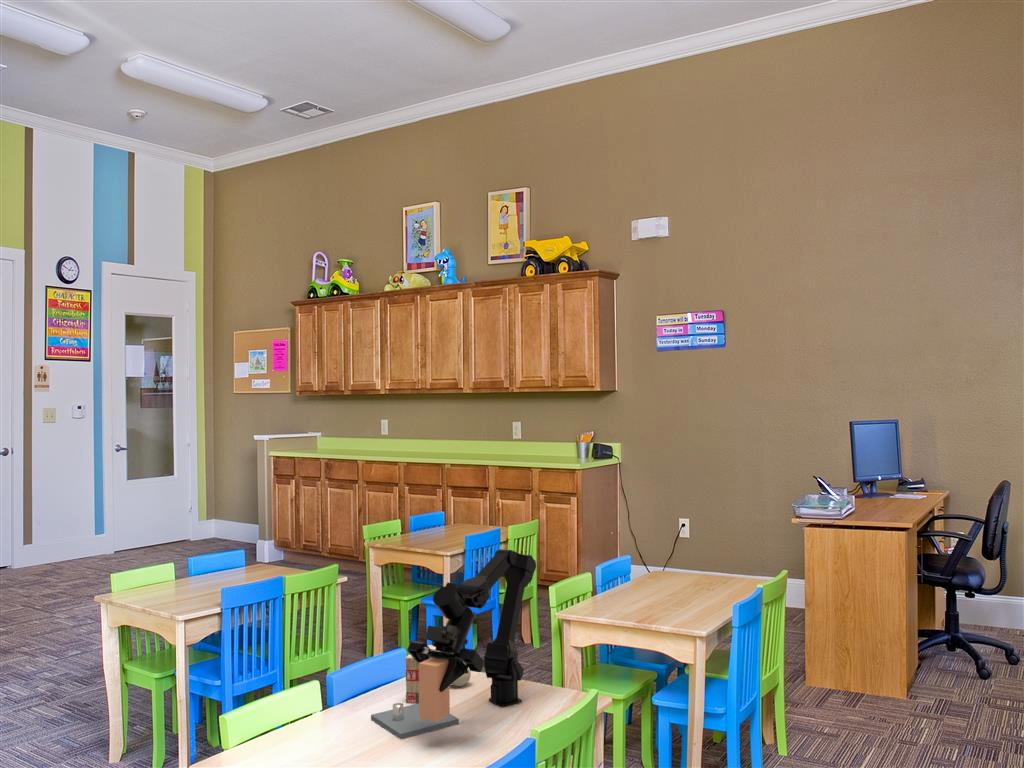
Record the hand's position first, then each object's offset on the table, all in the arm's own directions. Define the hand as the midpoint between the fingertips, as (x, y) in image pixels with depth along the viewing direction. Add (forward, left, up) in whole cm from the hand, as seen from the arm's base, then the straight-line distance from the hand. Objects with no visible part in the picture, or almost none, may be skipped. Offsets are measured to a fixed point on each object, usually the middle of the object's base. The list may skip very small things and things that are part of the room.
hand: (430, 689), depth 191 cm
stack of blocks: (-19, -35, -13) cm, 41 cm away
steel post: (0, -17, -13) cm, 21 cm away
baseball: (-27, -33, -13) cm, 45 cm away
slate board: (-4, -16, -13) cm, 21 cm away
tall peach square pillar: (-1, -1, -7) cm, 7 cm away
